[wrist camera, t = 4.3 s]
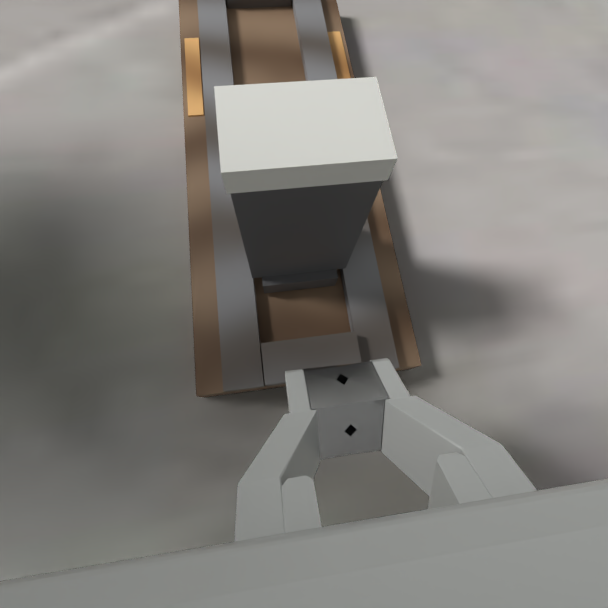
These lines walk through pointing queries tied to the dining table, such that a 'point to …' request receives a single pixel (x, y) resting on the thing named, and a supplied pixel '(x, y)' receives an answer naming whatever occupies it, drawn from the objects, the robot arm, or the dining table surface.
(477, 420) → the dining table surface
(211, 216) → the fader console
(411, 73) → the dining table surface
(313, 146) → the fader knob
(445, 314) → the dining table surface
